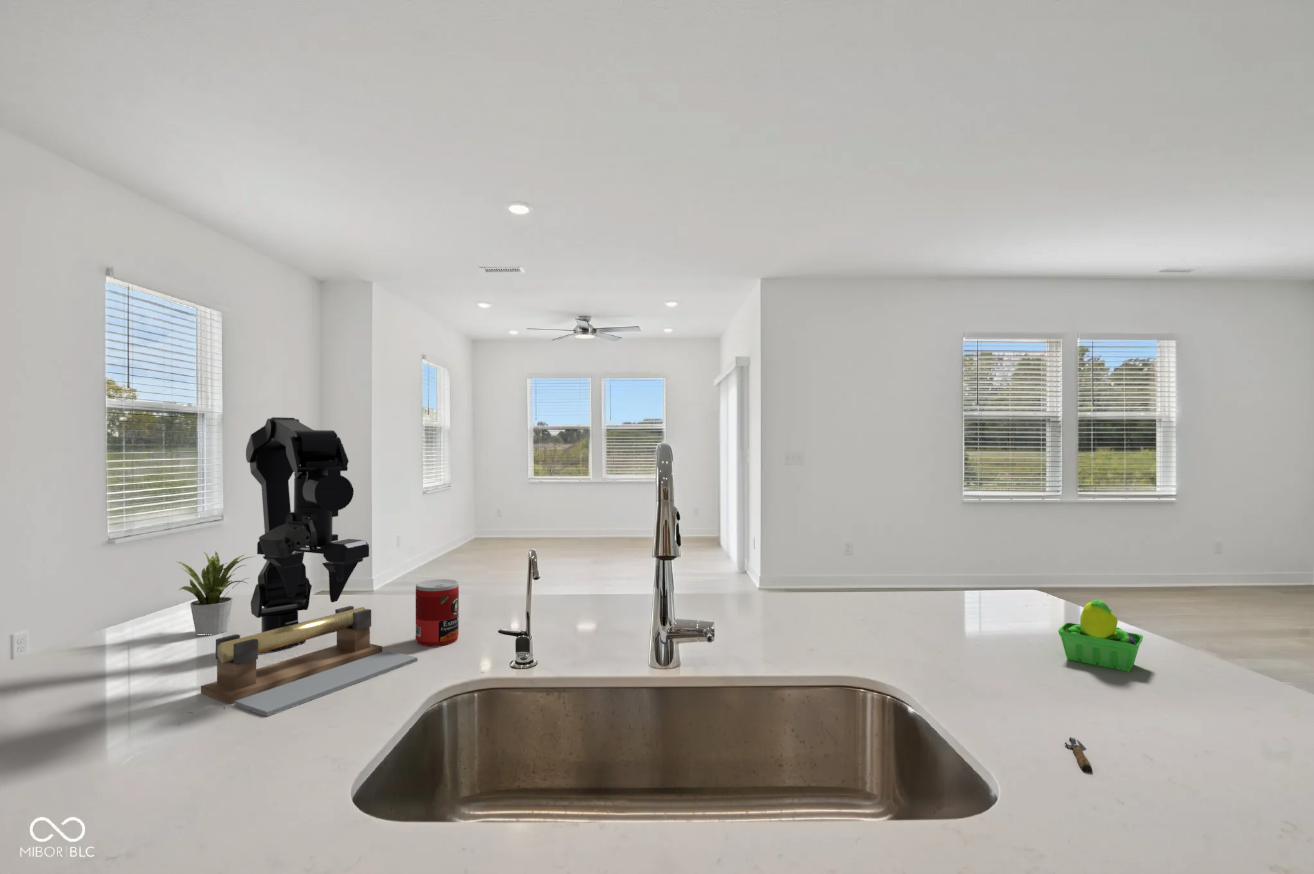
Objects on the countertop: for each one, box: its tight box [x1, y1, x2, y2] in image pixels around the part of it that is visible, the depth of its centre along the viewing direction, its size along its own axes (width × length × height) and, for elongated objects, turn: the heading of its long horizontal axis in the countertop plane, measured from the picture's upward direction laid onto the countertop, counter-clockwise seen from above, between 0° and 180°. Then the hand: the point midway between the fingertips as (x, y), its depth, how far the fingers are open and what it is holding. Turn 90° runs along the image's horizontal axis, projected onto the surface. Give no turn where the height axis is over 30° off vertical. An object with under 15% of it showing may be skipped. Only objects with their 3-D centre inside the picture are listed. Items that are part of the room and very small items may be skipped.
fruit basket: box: [1057, 599, 1144, 673], centre depth 112 cm, size 11×9×11 cm
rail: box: [217, 606, 366, 663], centre depth 108 cm, size 24×3×3 cm, turn 151°
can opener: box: [1064, 736, 1093, 773], centre depth 79 cm, size 9×2×1 cm, turn 152°
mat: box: [234, 650, 418, 717], centre depth 104 cm, size 8×26×1 cm, turn 151°
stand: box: [200, 605, 383, 705], centre depth 108 cm, size 26×8×8 cm, turn 151°
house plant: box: [177, 550, 257, 636], centre depth 130 cm, size 14×14×16 cm
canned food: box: [415, 578, 460, 647], centre depth 125 cm, size 8×8×11 cm
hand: (312, 598), depth 108 cm, fingers open, 9 cm apart
